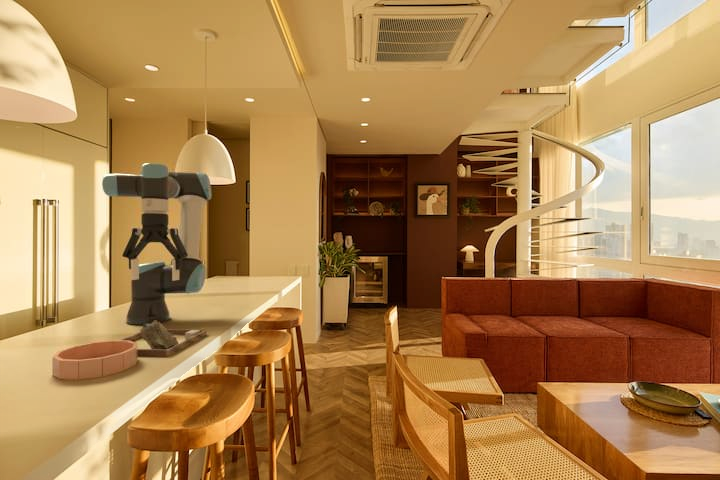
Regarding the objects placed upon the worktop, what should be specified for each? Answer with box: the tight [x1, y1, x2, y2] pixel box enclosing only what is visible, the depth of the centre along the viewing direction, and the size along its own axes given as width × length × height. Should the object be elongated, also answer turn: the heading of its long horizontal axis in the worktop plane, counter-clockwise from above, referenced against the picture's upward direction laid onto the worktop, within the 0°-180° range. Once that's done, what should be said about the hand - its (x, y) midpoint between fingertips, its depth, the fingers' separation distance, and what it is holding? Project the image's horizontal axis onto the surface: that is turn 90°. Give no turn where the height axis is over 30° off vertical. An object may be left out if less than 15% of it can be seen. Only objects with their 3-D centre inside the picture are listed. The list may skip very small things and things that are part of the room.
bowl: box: [51, 339, 139, 381], centre depth 98 cm, size 18×18×4 cm
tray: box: [120, 328, 208, 358], centre depth 119 cm, size 23×21×2 cm
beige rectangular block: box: [184, 329, 201, 340], centre depth 126 cm, size 4×3×2 cm
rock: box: [140, 321, 179, 350], centre depth 113 cm, size 11×6×10 cm
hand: (155, 280), depth 118 cm, fingers open, 13 cm apart
